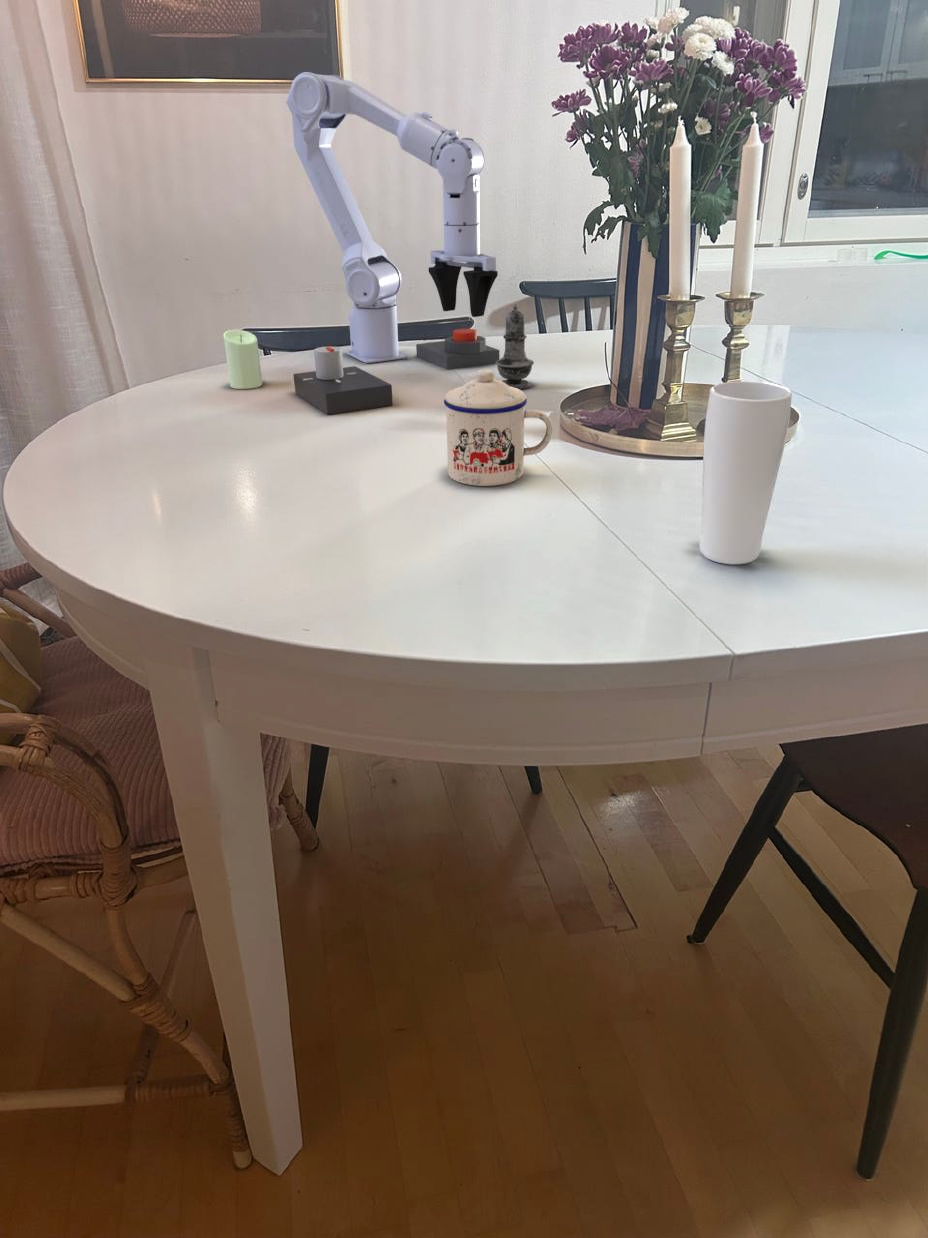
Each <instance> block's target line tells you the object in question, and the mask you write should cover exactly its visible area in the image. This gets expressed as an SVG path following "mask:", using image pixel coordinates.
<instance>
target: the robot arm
mask: <svg viewBox="0 0 928 1238" xmlns="http://www.w3.org/2000/svg"><path fill="white" fill-rule="evenodd" d="M286 105H287V107H288V109H289V112H290V113H291V123H292V133H293V134H292V135H293V145H294V149H295V152H296V154H297V156H298V158H299V160H300V163H301V165H302V167H303V169H304V171H305V173H306V175H307V178H308V180H309V182H310V184H311V187H312V188H313V190H314V193H315V195H316V197H317V199H318V201H319V203H320V206H321V208H322V209H323V212H324V214H325V217H326V218H327V220H328V222H329V225H330V227H331V229H332V231H333V234H334V236H335V237H336V240H337V242H338V245H339V246H340V248H341V251H342V252H343V257H342V262H341V270H342V272H343V275H344V279H345V289H346V292H347V295H348V297H349V298H350V300H351V301H352V302H353V307H352V309H351V310H350V312H349V316H348V323H349V337H350V338H349V339H350V350H347V351H345V353H346V354H347V355H348V356H350V357H352V358H354V359H356V360H358V361H360V362H363V363H365V364H373V363H379V362H389V361H395V360H403V359H408V355H407V354H406V353H402V352H400V351H399V333H398V332H399V331H398V330H399V329H398V328H399V327H398V311H397V308H398V307H397V299H396V298H397V297H396V295H397V294H398V293H399V292H400V290H401V287H402V282H403V281H402V275H401V272H400V269H399V268H398V267H397V265H396V264H395V263H394V262H392V261H391V260H390V258H389V257H388V255H387V253H386V251H385V250H384V249H383V248H382V247H381V246H380V245H379V244H378V243H377V242H376V241H374V239H373V237H372V235H371V233H370V230H369V228H368V226H367V224H366V221H365V220H364V217H363V215H362V213H361V210H360V209H359V206H358V203H357V202H356V199H355V198H354V197H355V196H354V195H353V193H352V191H351V189H350V186H349V184H348V182H347V180H346V178H345V176H344V173H343V171H342V169H341V167H340V164H339V162H338V160H337V158H336V156H335V154H334V151H333V149H332V145H333V141H334V137H335V134H336V132H337V131H338V129H339V128H340V127H341V125H342V123H344V120H346V117H347V116H348V115H351V116H352V115H353V116H354V115H356V116H357V117H360V118H361V119H363V120H365V121H367V122H368V123H371V124H373V125H375V126H376V127H379V128H380V129H382V130H384V131H386V132H387V133H390V134H392V135H394V136H395V137H397V139H398V140H397V141H398V144H399V146H400V149H402V151H404V152H406V153H408V154H409V155H411V156H413V157H415V158H416V159H418V160H420V161H422V162H423V163H425V164H427V165H428V166H430V167H432V168H434V169H436V170H437V172H438V174H439V175H440V177H441V179H442V184H443V185H442V203H443V241H444V243H443V244H444V245H443V247H444V250H442V249H441V250H440V249H437V250H431V251H430V264H433V265H434V266H429V267H428V273H429V276H431V278H432V280H433V283H434V284H435V287H436V289H437V293H438V296H439V301H440V305H441V308H442V312H451V311H455V310H456V307H457V289H458V282H459V277H460V274H461V271H462V268H467V269H471V270H465V271H463V277H464V280H465V282H466V285H467V289H468V296H469V310H470V314H471V317H472V318H478V317H484V315H485V313H486V308H487V303H488V299H489V296H490V293H491V289H492V287H493V285H494V283H495V281H496V279H497V277H498V276H499V272H498V270H497V257H496V256H491V255H488V254H484V253H481V228H480V227H481V225H480V224H481V220H480V219H481V216H480V213H481V211H480V210H481V209H480V201H481V200H480V199H481V197H480V196H481V195H480V174H481V173H482V171H483V168H484V166H485V154H484V151H483V149H482V147H481V146H480V145H479V144H478V143H477V142H476V141H475V140H474V139H473V138H471V137H462V138H459V131H458V130H456V129H455V128H451V129H450V130H449V129H448V128H446V127H445V126H443V125H441V124H439V123H438V122H436V121H434V120H433V118H434V116H433V114H431V113H430V112H428V111H423V112H422V113H421V112H418V111H416V112H415V111H414V112H413V113H411V114H409V115H406V114H405V113H403V112H401V111H400V110H398V109H397V108H395V107H394V106H392V105H390V104H389V103H387V102H386V101H385V100H383V99H381V98H380V97H379V96H376V95H375V94H373V93H372V92H371V91H368V90H367V89H365V88H364V87H363V86H361V85H359V84H357V83H355V82H353V81H351V80H346V79H344V78H343V77H341V76H340V75H338V74H327V75H326V74H317V73H313V72H310V71H304V72H301V73H299V74H297V76H295V77H294V79H293V80H292V83H291V85H290V88H289V92H288V95H287V99H286ZM472 269H473V270H472Z"/></svg>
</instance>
